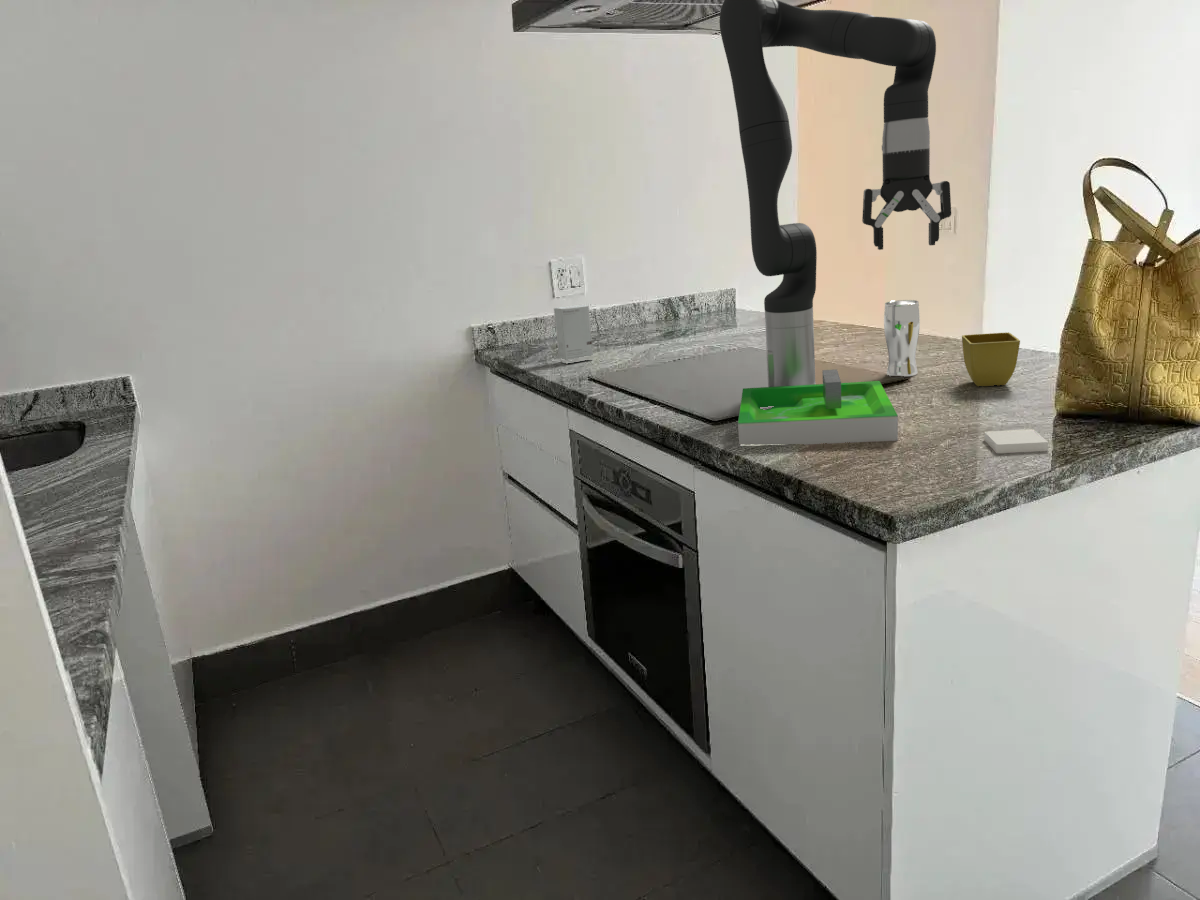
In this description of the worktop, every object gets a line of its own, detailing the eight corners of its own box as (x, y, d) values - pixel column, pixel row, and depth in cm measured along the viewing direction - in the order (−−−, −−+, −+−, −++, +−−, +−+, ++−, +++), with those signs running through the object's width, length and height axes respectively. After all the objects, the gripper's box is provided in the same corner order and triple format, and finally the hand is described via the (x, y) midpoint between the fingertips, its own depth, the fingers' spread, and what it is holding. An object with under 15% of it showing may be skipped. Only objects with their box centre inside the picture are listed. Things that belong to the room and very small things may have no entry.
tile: (997, 444, 127) (1048, 442, 126) (984, 431, 134) (1032, 429, 132) (996, 455, 127) (1047, 453, 126) (984, 442, 134) (1032, 440, 133)
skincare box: (566, 365, 231) (559, 309, 227) (558, 362, 236) (552, 307, 232) (595, 360, 234) (589, 304, 229) (586, 357, 239) (581, 303, 235)
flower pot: (1019, 387, 161) (1021, 340, 159) (969, 390, 163) (970, 343, 161) (1008, 377, 170) (1009, 331, 167) (960, 380, 172) (961, 335, 169)
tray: (897, 445, 138) (897, 415, 137) (739, 452, 144) (737, 423, 142) (879, 406, 162) (879, 380, 160) (744, 413, 167) (742, 388, 166)
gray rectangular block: (826, 408, 145) (825, 382, 144) (823, 394, 154) (822, 370, 153) (841, 408, 145) (840, 381, 143) (837, 394, 154) (837, 369, 153)
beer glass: (921, 370, 183) (921, 299, 179) (917, 377, 177) (917, 304, 173) (886, 370, 186) (886, 300, 182) (882, 378, 180) (881, 305, 176)
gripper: (864, 153, 144) (866, 252, 148) (955, 143, 141) (954, 245, 146) (859, 154, 151) (861, 249, 155) (945, 145, 148) (945, 242, 153)
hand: (906, 247), depth 151 cm, fingers open, 8 cm apart
